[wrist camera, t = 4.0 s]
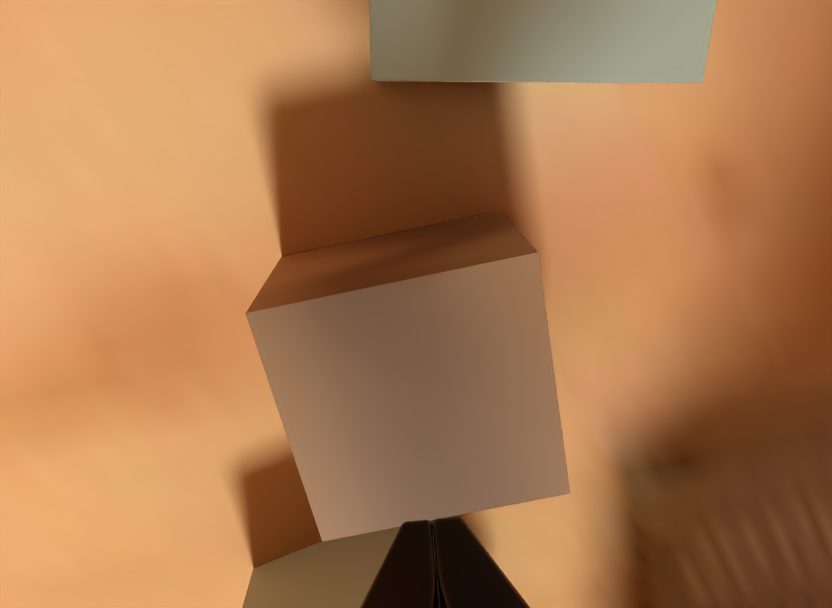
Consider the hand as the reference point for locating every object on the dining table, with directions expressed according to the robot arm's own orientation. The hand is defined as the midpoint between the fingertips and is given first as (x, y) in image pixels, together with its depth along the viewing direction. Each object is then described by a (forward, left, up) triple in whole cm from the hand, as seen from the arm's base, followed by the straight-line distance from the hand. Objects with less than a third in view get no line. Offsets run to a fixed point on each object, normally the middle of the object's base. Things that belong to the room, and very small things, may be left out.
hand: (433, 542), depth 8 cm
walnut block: (0, 0, -8) cm, 8 cm away
